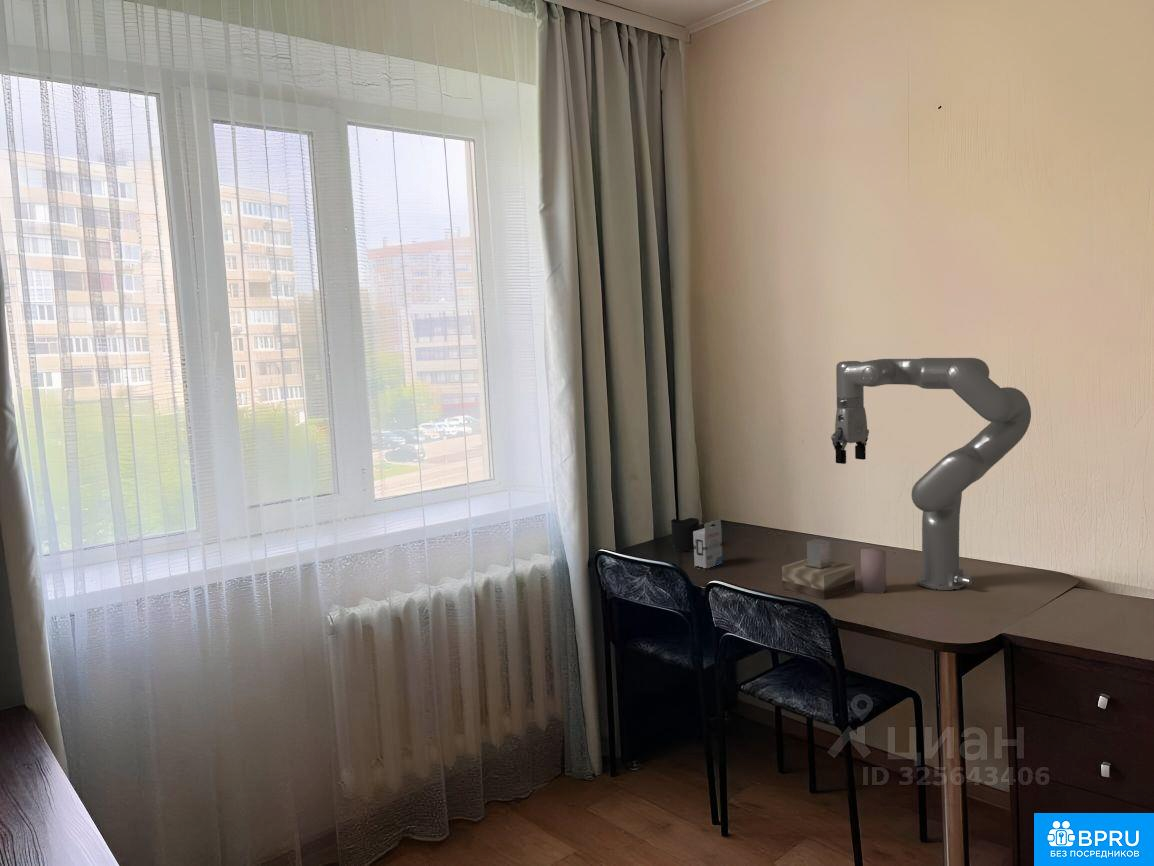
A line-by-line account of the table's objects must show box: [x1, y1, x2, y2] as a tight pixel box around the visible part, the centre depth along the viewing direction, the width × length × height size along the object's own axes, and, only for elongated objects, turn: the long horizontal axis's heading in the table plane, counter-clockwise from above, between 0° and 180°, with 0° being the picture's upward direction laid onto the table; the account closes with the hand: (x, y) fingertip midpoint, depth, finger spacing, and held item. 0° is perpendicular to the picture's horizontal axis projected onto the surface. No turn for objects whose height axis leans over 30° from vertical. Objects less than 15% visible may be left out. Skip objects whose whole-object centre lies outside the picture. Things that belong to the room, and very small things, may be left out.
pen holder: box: [670, 517, 700, 551], centre depth 287 cm, size 9×9×10 cm
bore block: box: [781, 558, 856, 600], centre depth 237 cm, size 14×14×6 cm
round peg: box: [860, 547, 887, 594], centre depth 233 cm, size 6×6×11 cm
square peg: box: [806, 538, 831, 570], centre depth 237 cm, size 4×4×11 cm
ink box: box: [693, 518, 723, 568], centre depth 265 cm, size 8×5×15 cm, turn 133°
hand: (850, 461), depth 249 cm, fingers open, 9 cm apart
